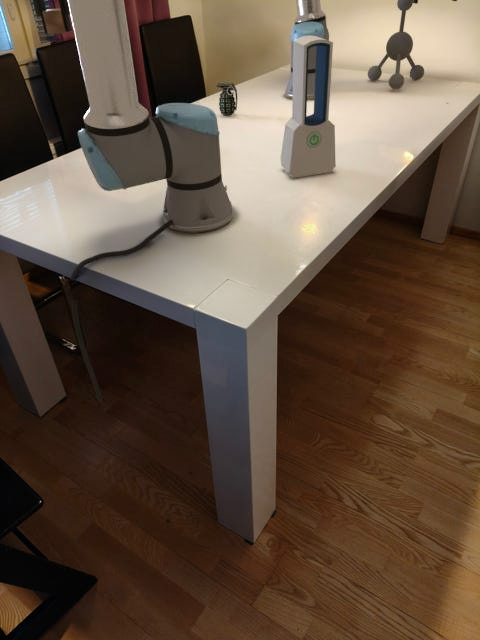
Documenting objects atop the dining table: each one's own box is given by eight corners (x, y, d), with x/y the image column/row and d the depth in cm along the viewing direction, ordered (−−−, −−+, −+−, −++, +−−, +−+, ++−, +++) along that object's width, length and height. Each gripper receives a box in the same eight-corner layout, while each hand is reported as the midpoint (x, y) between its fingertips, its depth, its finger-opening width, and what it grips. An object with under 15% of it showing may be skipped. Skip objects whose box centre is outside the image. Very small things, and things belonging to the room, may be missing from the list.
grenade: (217, 117, 168) (214, 86, 162) (221, 112, 172) (219, 82, 166) (235, 117, 166) (233, 86, 160) (239, 113, 171) (238, 82, 165)
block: (70, 30, 117) (65, 8, 115) (65, 33, 114) (60, 10, 111) (53, 31, 117) (47, 9, 115) (47, 34, 114) (42, 11, 111)
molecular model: (441, 85, 188) (459, -9, 169) (393, 93, 182) (406, -3, 164) (404, 74, 205) (416, -12, 187) (359, 81, 200) (367, -7, 181)
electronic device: (289, 178, 122) (291, 42, 103) (279, 168, 128) (280, 37, 109) (335, 171, 124) (345, 37, 106) (323, 161, 130) (331, 32, 111)
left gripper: (73, -100, 104) (98, 27, 118) (-7, -95, 104) (27, 31, 119) (63, -102, 98) (91, 31, 112) (-21, -97, 98) (17, 36, 113)
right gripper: (481, -79, 160) (466, -2, 173) (405, -74, 160) (396, 3, 173) (491, -80, 154) (474, 0, 167) (412, -75, 154) (402, 5, 167)
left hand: (58, 31), depth 115 cm, fingers closed on block, 4 cm apart
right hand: (434, 2), depth 170 cm, fingers open, 13 cm apart
